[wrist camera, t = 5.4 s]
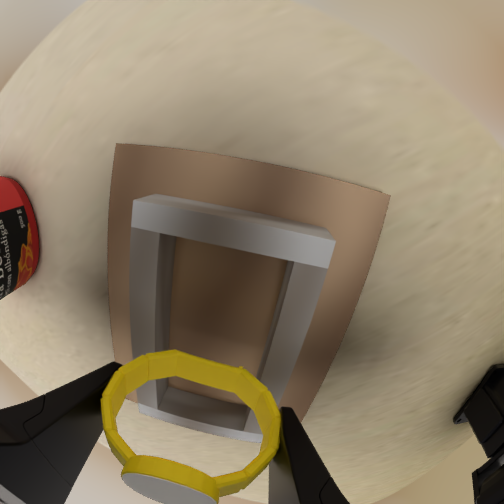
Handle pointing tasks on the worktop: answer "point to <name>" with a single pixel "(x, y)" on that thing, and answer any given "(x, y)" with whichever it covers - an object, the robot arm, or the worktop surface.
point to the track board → (233, 276)
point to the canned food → (16, 237)
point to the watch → (173, 473)
